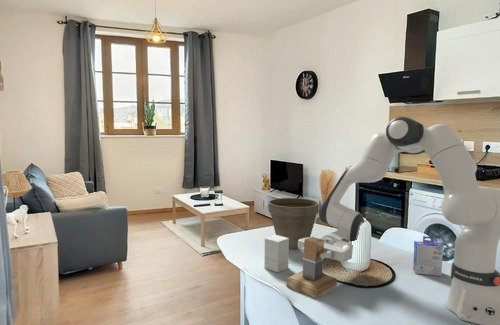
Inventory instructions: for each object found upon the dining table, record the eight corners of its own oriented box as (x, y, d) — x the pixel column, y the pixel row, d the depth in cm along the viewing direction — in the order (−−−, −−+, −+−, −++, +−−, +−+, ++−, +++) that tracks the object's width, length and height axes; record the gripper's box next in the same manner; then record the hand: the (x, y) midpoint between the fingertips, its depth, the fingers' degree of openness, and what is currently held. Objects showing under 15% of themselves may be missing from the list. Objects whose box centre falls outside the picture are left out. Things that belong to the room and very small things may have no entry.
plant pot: (256, 243, 175) (257, 200, 173) (289, 234, 191) (290, 195, 189) (295, 257, 156) (296, 209, 154) (327, 245, 173) (329, 202, 171)
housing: (322, 277, 126) (325, 240, 125) (314, 281, 122) (316, 243, 121) (310, 273, 130) (312, 236, 129) (301, 277, 126) (303, 239, 125)
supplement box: (289, 268, 143) (289, 238, 142) (277, 273, 138) (278, 242, 137) (275, 263, 148) (275, 234, 147) (263, 268, 143) (264, 237, 142)
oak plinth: (336, 286, 127) (337, 277, 126) (316, 298, 117) (317, 289, 117) (307, 276, 136) (307, 267, 135) (286, 286, 126) (286, 277, 126)
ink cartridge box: (437, 271, 143) (440, 236, 142) (442, 276, 138) (444, 240, 136) (411, 268, 145) (414, 234, 144) (415, 274, 140) (417, 238, 138)
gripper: (309, 231, 142) (288, 238, 132) (356, 243, 127) (336, 252, 118) (309, 246, 142) (288, 254, 132) (355, 260, 128) (336, 270, 118)
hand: (311, 253), depth 125 cm, fingers open, 6 cm apart
